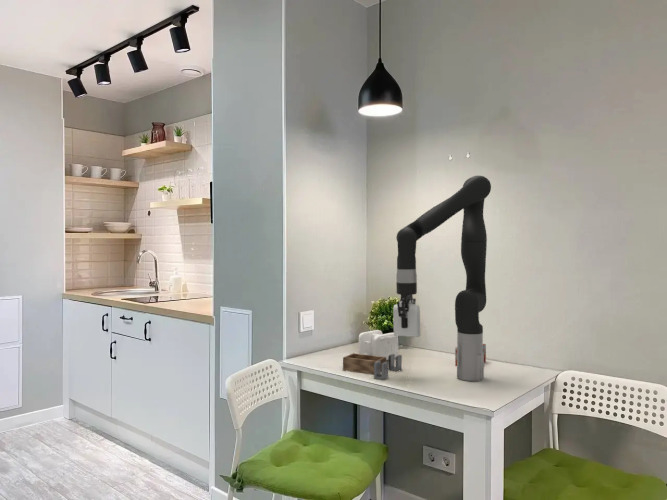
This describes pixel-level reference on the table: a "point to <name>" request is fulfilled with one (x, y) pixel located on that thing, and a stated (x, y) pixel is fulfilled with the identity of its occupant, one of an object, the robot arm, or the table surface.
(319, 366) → the table surface
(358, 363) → the wooden box
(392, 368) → the cable clip
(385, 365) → the cable clip
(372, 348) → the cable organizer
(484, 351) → the medicine box
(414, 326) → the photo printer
